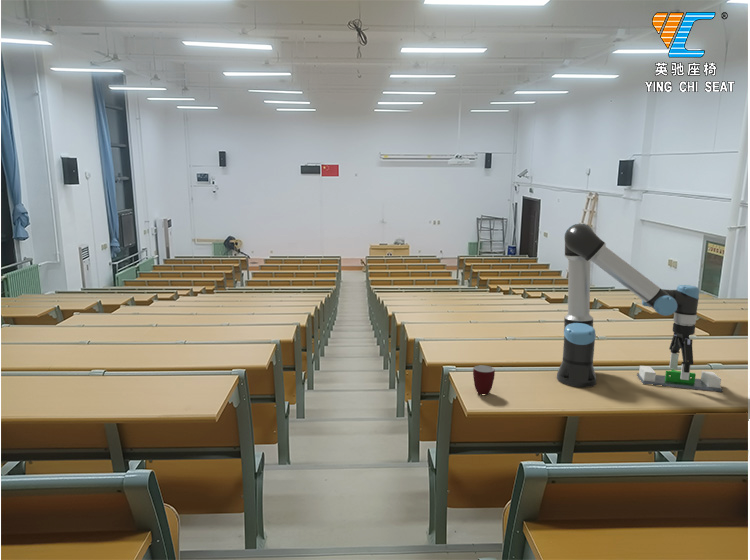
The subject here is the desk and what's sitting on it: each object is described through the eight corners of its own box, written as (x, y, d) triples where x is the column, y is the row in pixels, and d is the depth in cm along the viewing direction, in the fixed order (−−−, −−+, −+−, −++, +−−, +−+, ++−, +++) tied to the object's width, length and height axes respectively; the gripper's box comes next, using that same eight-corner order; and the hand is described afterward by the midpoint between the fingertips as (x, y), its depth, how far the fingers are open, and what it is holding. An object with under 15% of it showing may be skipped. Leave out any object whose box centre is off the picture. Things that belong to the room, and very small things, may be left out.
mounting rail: (643, 384, 193) (644, 372, 192) (636, 375, 202) (637, 364, 201) (722, 391, 185) (723, 379, 184) (711, 382, 194) (713, 371, 194)
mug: (466, 387, 188) (467, 363, 186) (485, 386, 189) (486, 362, 188) (477, 398, 178) (478, 373, 176) (497, 396, 179) (498, 371, 178)
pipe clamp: (691, 380, 193) (692, 371, 193) (694, 384, 190) (695, 373, 189) (662, 378, 196) (664, 368, 195) (665, 381, 193) (666, 371, 192)
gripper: (707, 332, 177) (700, 385, 180) (684, 317, 200) (678, 364, 204) (684, 330, 179) (678, 383, 182) (664, 316, 202) (659, 363, 206)
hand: (678, 373), depth 193 cm, fingers open, 13 cm apart
